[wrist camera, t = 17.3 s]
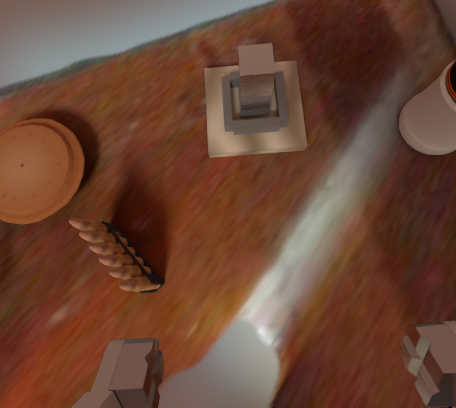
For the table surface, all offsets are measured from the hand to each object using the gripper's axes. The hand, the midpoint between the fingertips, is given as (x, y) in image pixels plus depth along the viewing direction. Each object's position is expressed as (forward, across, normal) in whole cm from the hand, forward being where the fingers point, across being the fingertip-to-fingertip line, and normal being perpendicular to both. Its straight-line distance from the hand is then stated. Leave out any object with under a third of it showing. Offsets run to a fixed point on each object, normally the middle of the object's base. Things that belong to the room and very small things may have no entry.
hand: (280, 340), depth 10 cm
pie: (+35, +30, +10) cm, 47 cm away
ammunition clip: (+26, +16, +19) cm, 36 cm away
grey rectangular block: (+40, -2, +2) cm, 40 cm away
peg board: (+41, -2, +4) cm, 41 cm away
